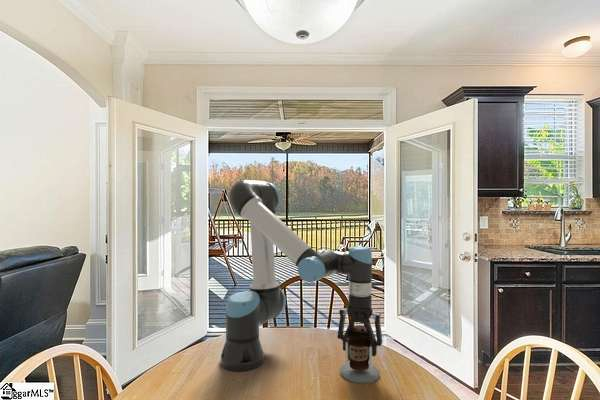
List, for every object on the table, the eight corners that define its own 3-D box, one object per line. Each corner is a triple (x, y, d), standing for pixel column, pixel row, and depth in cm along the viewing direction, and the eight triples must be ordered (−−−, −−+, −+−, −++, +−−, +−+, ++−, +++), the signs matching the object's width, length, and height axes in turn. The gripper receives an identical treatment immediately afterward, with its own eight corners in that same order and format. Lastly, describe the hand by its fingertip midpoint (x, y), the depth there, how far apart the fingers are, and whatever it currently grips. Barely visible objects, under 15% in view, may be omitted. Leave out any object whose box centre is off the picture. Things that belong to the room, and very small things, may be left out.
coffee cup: (372, 375, 111) (373, 334, 111) (345, 372, 112) (346, 332, 112) (372, 362, 119) (372, 324, 119) (347, 360, 121) (348, 322, 121)
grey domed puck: (334, 378, 113) (334, 375, 113) (346, 361, 125) (346, 358, 125) (374, 387, 107) (374, 384, 107) (382, 368, 119) (383, 366, 119)
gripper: (327, 293, 116) (326, 361, 117) (389, 300, 108) (388, 374, 108) (334, 287, 123) (334, 352, 123) (392, 294, 115) (392, 363, 115)
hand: (359, 362), depth 116 cm, fingers closed on coffee cup, 7 cm apart
